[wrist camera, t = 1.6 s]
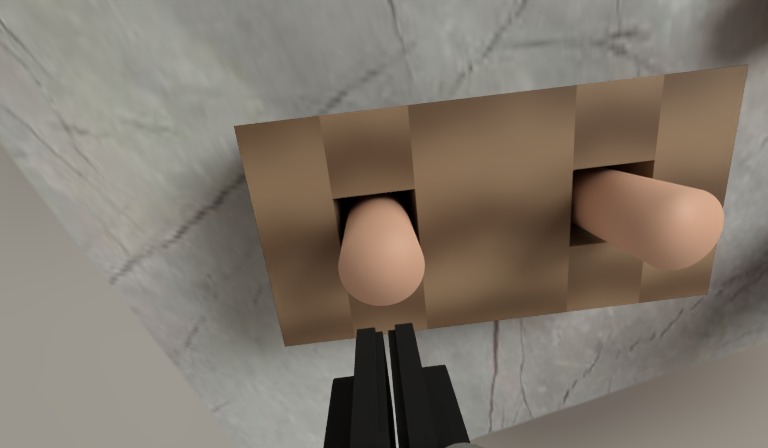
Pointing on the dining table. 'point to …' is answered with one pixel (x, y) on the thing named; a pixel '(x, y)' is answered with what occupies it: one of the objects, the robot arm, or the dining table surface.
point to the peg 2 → (647, 216)
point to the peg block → (484, 198)
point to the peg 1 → (380, 251)
